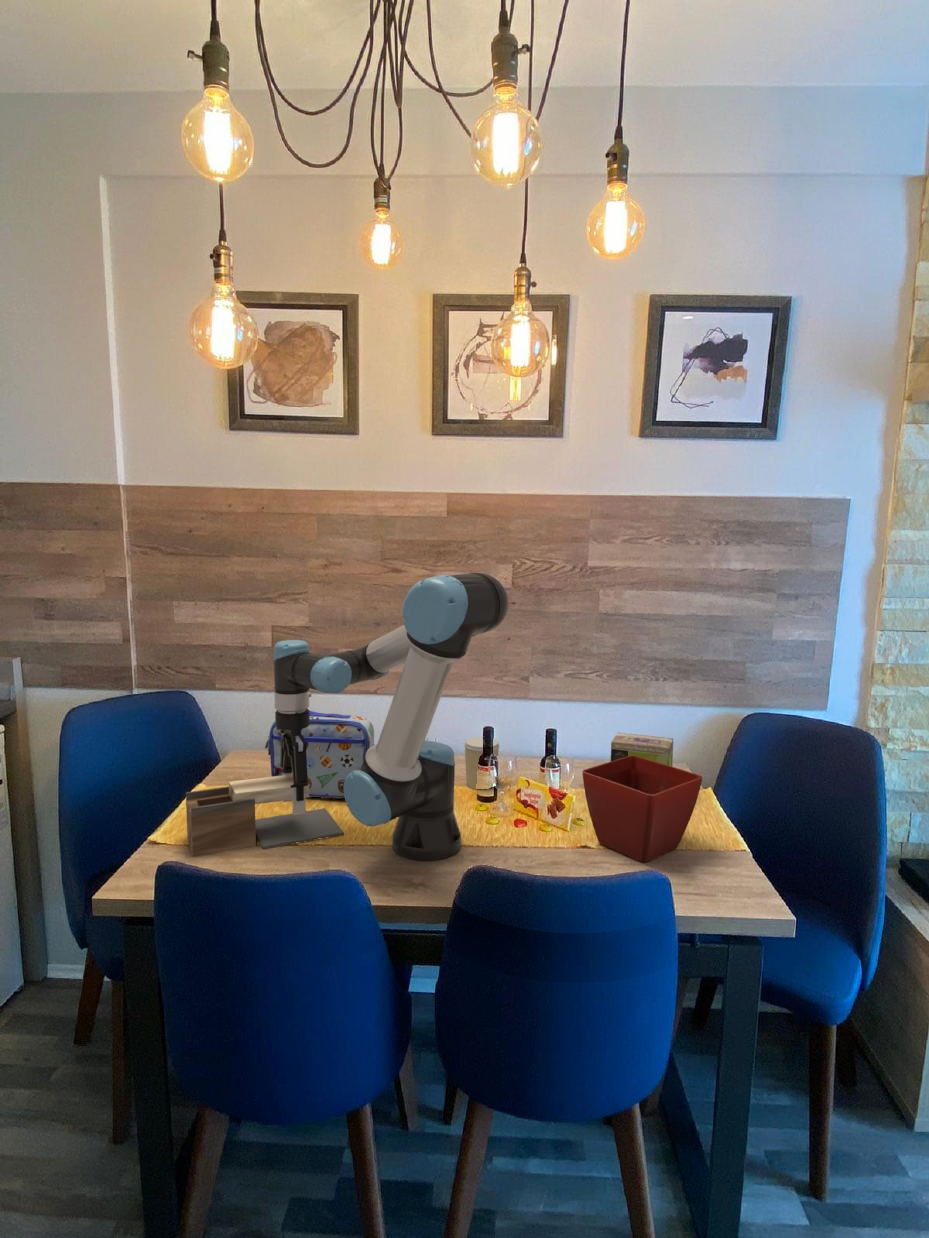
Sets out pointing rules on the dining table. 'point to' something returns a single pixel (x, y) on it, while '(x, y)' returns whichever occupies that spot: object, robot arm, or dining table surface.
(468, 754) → the coffee cup
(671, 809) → the plant pot
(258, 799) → the birch lid
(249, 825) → the walnut box
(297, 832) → the charcoal mat
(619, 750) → the tea box
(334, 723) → the lunch box
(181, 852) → the dining table surface
